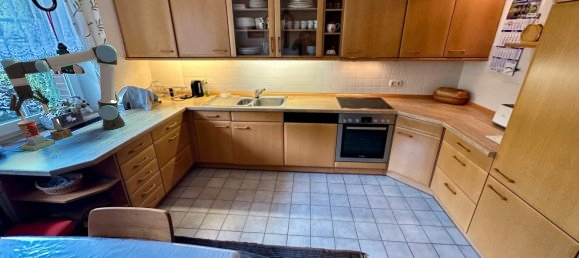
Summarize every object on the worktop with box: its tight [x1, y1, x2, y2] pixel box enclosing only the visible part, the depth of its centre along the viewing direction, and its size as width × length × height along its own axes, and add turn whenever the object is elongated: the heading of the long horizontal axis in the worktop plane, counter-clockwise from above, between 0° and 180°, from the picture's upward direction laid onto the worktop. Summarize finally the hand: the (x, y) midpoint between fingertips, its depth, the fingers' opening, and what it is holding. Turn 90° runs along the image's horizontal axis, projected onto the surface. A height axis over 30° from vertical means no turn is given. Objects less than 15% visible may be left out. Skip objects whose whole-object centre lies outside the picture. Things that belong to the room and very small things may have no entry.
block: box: [25, 135, 46, 146], centre depth 161 cm, size 6×6×6 cm
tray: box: [19, 138, 56, 152], centre depth 162 cm, size 12×12×3 cm
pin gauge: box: [52, 118, 63, 132], centre depth 175 cm, size 3×3×14 cm
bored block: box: [49, 128, 73, 140], centre depth 176 cm, size 8×8×5 cm
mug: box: [16, 119, 41, 140], centre depth 172 cm, size 13×9×14 cm
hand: (36, 116), depth 158 cm, fingers open, 13 cm apart
